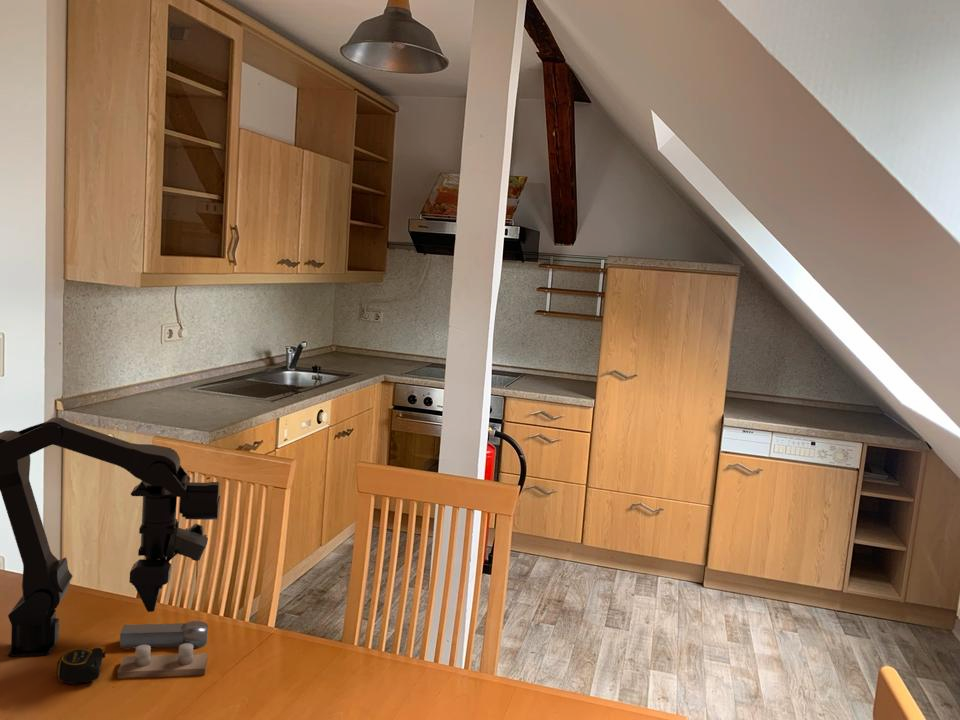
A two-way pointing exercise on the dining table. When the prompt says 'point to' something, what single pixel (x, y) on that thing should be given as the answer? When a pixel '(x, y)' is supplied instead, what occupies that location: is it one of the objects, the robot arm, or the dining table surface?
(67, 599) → the dining table surface
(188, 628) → the grey bar with knob
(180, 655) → the peg stand
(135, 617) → the dining table surface
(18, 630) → the robot arm
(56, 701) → the dining table surface
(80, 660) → the tape measure
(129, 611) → the dining table surface
